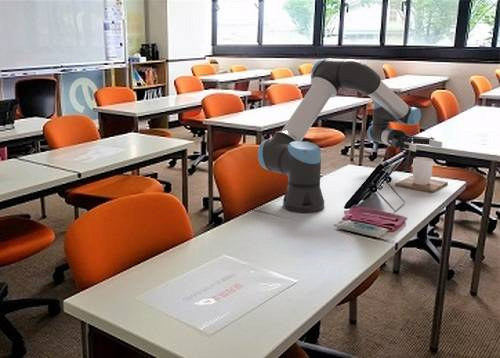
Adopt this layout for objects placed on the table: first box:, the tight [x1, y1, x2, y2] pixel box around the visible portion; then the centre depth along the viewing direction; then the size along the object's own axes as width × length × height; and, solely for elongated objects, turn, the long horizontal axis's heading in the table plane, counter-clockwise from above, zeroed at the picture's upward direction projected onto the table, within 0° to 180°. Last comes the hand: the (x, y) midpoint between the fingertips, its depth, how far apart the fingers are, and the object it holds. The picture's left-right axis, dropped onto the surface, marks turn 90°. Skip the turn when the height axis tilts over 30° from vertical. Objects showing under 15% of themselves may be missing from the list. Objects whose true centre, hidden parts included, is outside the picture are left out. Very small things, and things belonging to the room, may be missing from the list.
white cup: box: [412, 156, 434, 185], centre depth 212 cm, size 8×8×10 cm
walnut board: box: [394, 175, 449, 194], centre depth 213 cm, size 16×16×1 cm
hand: (428, 146), depth 207 cm, fingers open, 13 cm apart
